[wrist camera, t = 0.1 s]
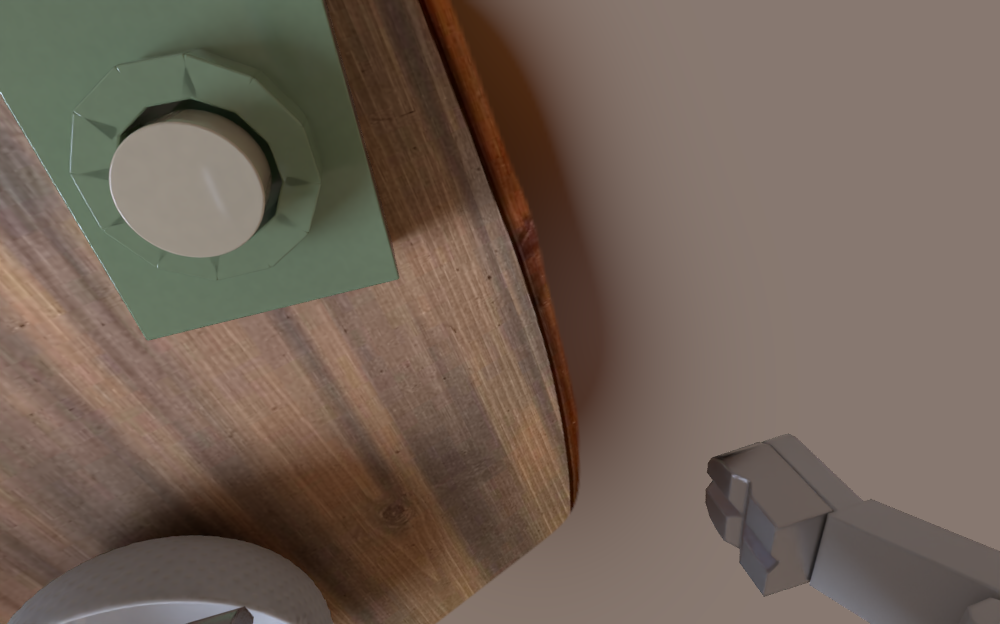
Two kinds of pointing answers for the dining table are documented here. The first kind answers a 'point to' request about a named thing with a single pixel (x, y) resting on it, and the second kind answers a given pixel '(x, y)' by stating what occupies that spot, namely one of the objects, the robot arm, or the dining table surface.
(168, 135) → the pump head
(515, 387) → the dining table surface
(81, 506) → the dining table surface
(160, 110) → the push button base
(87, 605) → the cereal bowl
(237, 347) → the dining table surface
